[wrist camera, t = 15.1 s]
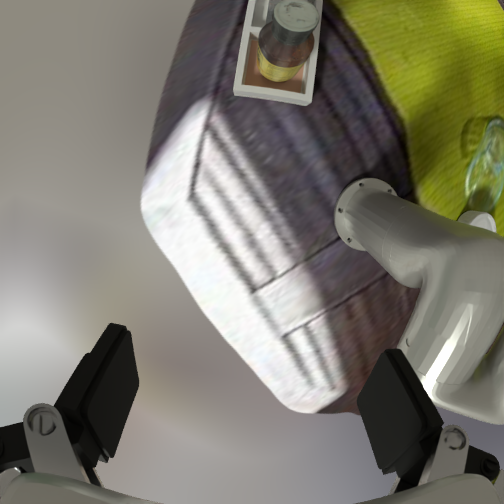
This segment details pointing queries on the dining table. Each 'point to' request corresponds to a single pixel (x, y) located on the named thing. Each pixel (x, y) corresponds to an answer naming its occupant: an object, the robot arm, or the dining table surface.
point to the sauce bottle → (287, 40)
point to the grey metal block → (271, 9)
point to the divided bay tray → (248, 73)
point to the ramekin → (478, 220)
